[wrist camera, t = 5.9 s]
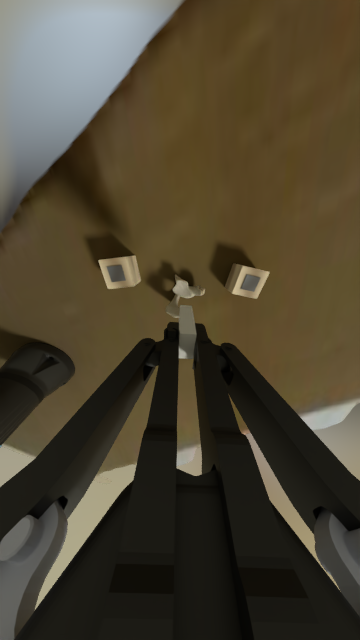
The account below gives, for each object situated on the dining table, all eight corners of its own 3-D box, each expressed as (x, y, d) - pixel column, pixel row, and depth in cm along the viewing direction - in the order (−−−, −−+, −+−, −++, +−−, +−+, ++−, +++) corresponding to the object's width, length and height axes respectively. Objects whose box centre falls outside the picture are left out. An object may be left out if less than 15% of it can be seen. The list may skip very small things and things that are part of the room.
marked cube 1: (224, 287, 30) (232, 293, 26) (233, 263, 28) (243, 265, 24) (245, 291, 31) (257, 299, 26) (256, 268, 29) (270, 272, 24)
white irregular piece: (194, 258, 26) (208, 297, 21) (203, 281, 31) (216, 317, 26) (156, 278, 29) (160, 317, 23) (170, 296, 34) (176, 331, 28)
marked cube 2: (118, 283, 30) (107, 289, 26) (111, 258, 28) (97, 260, 23) (141, 280, 30) (133, 286, 25) (135, 255, 28) (126, 256, 23)
